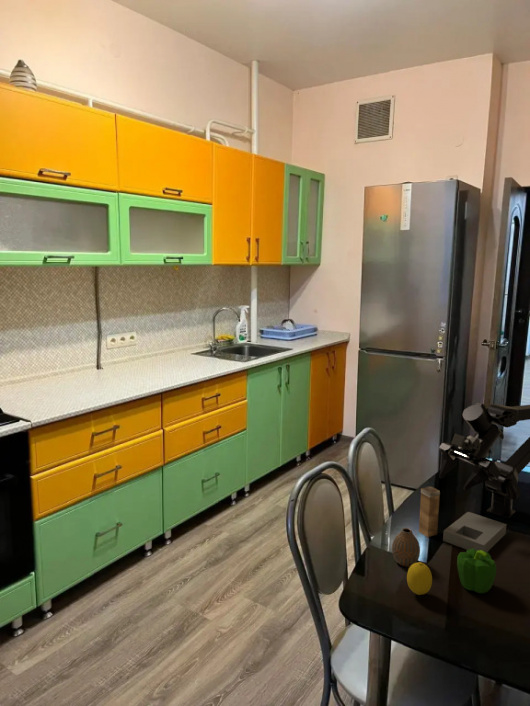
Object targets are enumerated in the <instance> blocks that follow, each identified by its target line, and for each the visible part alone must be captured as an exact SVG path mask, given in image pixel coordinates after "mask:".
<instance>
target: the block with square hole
mask: <svg viewBox="0 0 530 706" xmlns="http://www.w3.org/2000/svg"><path fill="white" fill-rule="evenodd" d="M506 533H507V523H503V522H501V521H497V520H494V519H492V518H488V517H486V516H482V515H479V514H476V513H473V512H471V511H467V512H466V513H464V514H463V515H462V516H461V517H459V518H458V519H456V520H455V521H454V522H452V523H451V524H450V525H449V526H448V527H446V528H445V529H443V534H442V535H443V537H442V542H446V543H448V544H451V545H452V546H453V545H454V546H456V547H458V548H461V549H464V550H466V551H467V550H469V549H472V548H473V549H475V550H478V551H479V550H482V551H484V552H488V553H489V551H490V550H491V549H492V548H493V547H494V546H495V545H496V544H497V543H498V542H499V541H500V540H501V539H502V538H503V537H504V536H505V535H506Z"/></svg>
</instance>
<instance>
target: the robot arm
mask: <svg viewBox="0 0 530 706" xmlns="http://www.w3.org/2000/svg"><path fill="white" fill-rule="evenodd" d="M462 418H463V419H464V421H465V422H466V423H467V424H468V426H469V427H470V428H471V429H472V431H473V432H474V434H473V435H469V436H467V437H466V436H463V435H460V434H457V433H454V435H453V437H452V440H451V443H448V442H445V441H444V442H442V443H441V444H440V445H439V447H438V449H439V451H440V453H441V455H442V463H441V465H440V466H441V468H440V471H439V474H438V477H439V478H440V479H443V478H445V476H446V475H447V474H448V473H450V471H452V469H454V468H455V467H456V466H457V462H459V461H460V460H461V461H463V462H466V463H468V464H470V465H473V467H474V468H473V472H472V473H471V475H470V476H469V478H468V479H467V481H465V484H464V485H463V490H464V491H467V490H469V489H471V488H473V487H475V486H477V485H479V484H481V483H484V485H485V489H486V490H487V491H489V492H491V493H492V494H491V495H492V496H491V504H490V505H491V506H490V507H489V508H488V509H486V512H487V513H489V514H492V515H495V516H499V517H501V518H505V519H510V518H511V517H512V516H513V515H515V513H516V510H515V509H513V500H514V501H515V500H518V498H520V497H521V493H522V489H521V488H520V487H519V486H518V483H519V474H520V473H521V472H522V471H523V470H524V469H525V468H526V467H527V466H528V465H529V464H530V436H529V437H528V438H527V439H526V440H525V441H524V442H523V443H522V444H521V445H520V446H519V447H518V448H517V449H516V450H515V451H514V452H513V453H512V454H511V456H510V457H508V458H507V460H505V461H504V462H501V461H498V460H496V461H494V460H491V459H488V458H486V455H491V454H492V451H491V448H492V446H493V445H494V444H495V443H496V442H497V440H498V439H501V440H504V439H505V437H504V429H501V428H499V427H498V426H500V427H503V428H511V427H513V426H515V425H517V423H518V422H523V421H528V420H530V404H525V405H515V406H509V405H508V406H507V405H501V404H498V403H497V404H495V403H493V404H490V405H489V406H488V407H487V408H486V406H485V404H484V403H483V402H479V401H478V402H476V404H472V405H469V406H468V407H467V408H465V409H464V410H463V412H462ZM456 447H457V448H456Z"/></svg>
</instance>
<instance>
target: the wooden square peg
mask: <svg viewBox="0 0 530 706" xmlns="http://www.w3.org/2000/svg"><path fill="white" fill-rule="evenodd" d="M440 495H441V492H440V490H438V489H437V488H435V487H433V486H431V485H430V486H426V487H423V488H420V505H419V520H418V532H419V533H420V534H421V535H424V536H425V537H426V538H430V537H433V536H437V535H438V523H439V509H440V508H439V507H440Z"/></svg>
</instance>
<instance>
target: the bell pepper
mask: <svg viewBox="0 0 530 706" xmlns="http://www.w3.org/2000/svg"><path fill="white" fill-rule="evenodd" d="M456 561H457V562H456V565H457V572H458V577H459V581H460V584H461V586H462V587H463V588H464V589H466V590H468V591H474V592H475V593H478V594H485V593H488V592H489V591H490V590H491V589H492V586H493V584H494V581H495V579H496V576H497V565H496V562H495V560H494V559H492V556H491V555H490V553H489V551H488V552H484V551H482V550H479V551H478V550H475V549H473V548H472V549H469V550H466V552H464V551H461V552H459V554H458V555H457V559H456Z"/></svg>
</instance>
